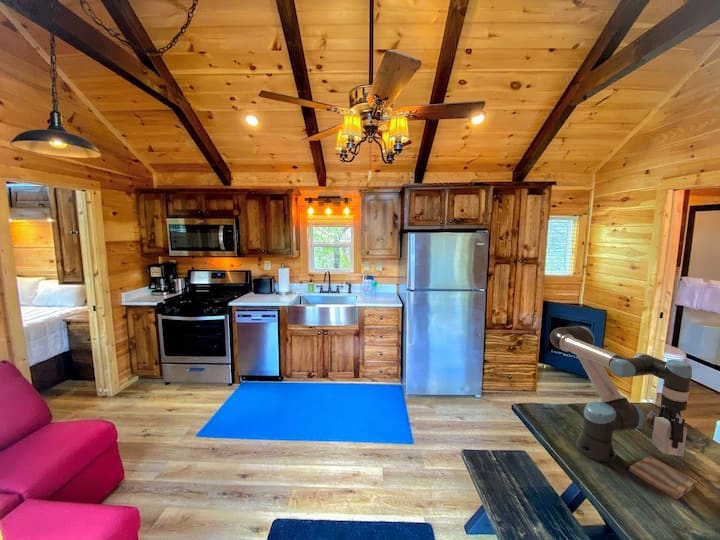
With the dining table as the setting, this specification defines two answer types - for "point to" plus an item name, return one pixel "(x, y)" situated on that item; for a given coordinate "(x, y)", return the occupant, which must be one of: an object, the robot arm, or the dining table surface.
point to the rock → (652, 417)
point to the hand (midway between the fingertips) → (666, 446)
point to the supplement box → (665, 436)
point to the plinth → (663, 477)
